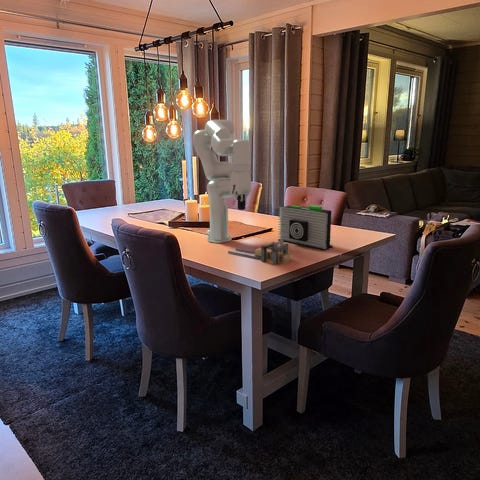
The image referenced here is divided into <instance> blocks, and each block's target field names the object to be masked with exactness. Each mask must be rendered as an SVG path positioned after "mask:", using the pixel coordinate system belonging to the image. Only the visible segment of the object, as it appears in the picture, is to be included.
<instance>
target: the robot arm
mask: <svg viewBox="0 0 480 480" xmlns="http://www.w3.org/2000/svg"><path fill="white" fill-rule="evenodd" d="M234 133H235V125H234V123H233V122H232V120H230V119H211V120H208V121H207V123H205V126H204V129H200V130H199V129H198V130H196V131H195V132H194V133H193V134H192V135H193V136H192V143H193V147H194V150H195V152H196V154H197V156H198V157H199V159H200V161H201V165H202V169H203V171H204V175H205V177H206V179H207V180H208V183H207V184H206V192H207V193H206V194H207V197H208V203H209V204H208V206H209V207H208V208H209V209H208V211H209V230H207V231H206V232H205V235H207V236H208V237H206V238H207V242H209V243H215V244H221V243H222V244H224V243H228V242H230V241H232V236H229V208H228V204H227V203H226V202H225V200H224V199H226V198H227V199H228V198H234V199H236V201H237V210H240V211H244V210H246V201H247V198H248V196H250V194H251V192H252V177H251V141H250V140H248V139H243V138H232V137H233V136H234ZM210 147H211V148H210ZM217 155H218V156H220V157H232V162H230V161H219V160H218V157H217Z"/></svg>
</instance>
